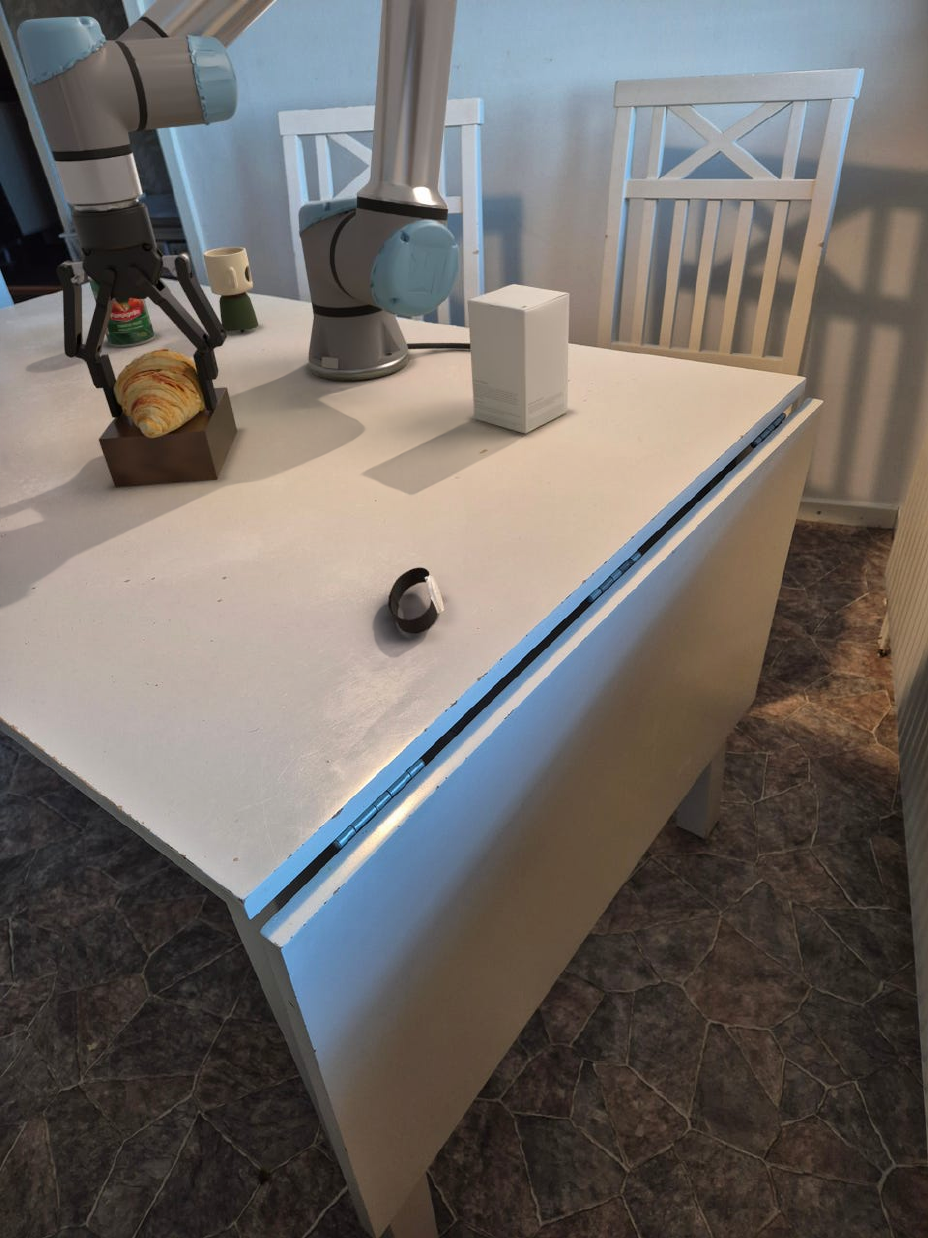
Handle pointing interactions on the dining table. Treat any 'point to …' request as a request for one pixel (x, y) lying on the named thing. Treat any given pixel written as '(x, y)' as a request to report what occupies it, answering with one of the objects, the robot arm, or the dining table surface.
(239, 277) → the character mug
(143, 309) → the canned tomato
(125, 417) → the walnut block
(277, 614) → the dining table surface
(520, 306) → the white product box
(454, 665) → the dining table surface
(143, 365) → the croissant
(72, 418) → the dining table surface
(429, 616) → the watch
